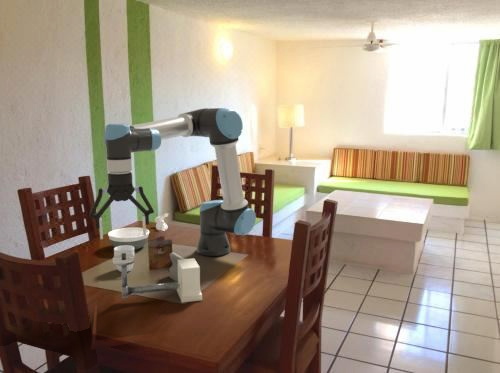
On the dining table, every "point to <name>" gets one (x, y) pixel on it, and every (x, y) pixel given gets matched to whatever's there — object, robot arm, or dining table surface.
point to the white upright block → (189, 280)
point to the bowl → (128, 237)
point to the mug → (124, 249)
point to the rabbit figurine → (161, 223)
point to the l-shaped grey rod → (126, 291)
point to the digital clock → (174, 266)
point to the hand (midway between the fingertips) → (123, 236)
